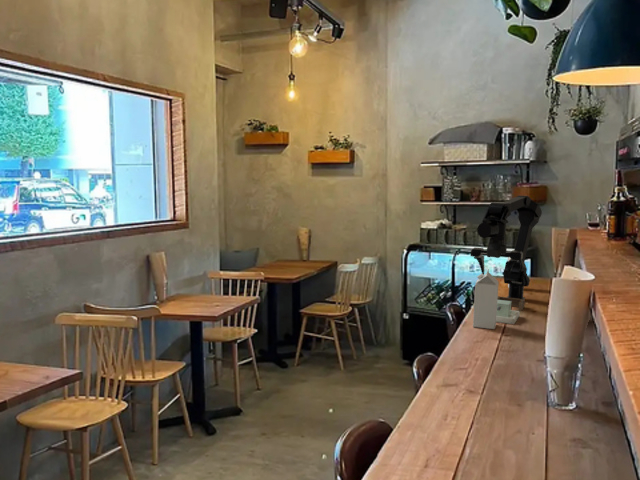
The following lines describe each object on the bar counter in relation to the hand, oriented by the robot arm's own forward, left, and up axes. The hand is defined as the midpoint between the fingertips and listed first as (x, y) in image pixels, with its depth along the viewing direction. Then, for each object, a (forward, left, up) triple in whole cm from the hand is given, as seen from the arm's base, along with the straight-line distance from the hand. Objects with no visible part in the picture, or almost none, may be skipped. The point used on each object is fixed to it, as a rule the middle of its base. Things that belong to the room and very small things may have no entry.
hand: (495, 275), depth 234 cm
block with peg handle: (+18, +6, -11) cm, 22 cm away
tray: (+18, +6, -12) cm, 22 cm away
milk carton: (+32, +3, -12) cm, 34 cm away
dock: (-1, +6, -12) cm, 13 cm away
